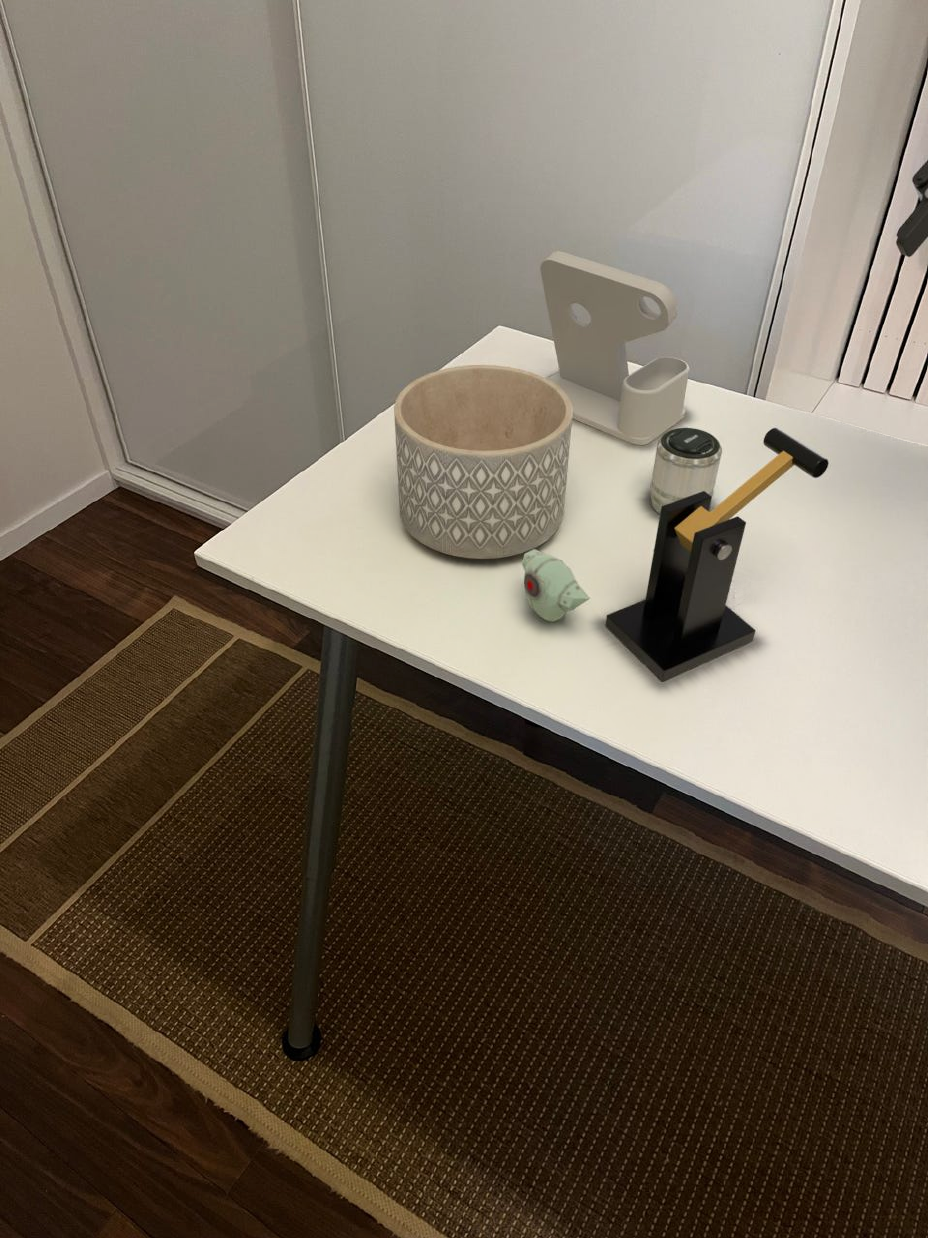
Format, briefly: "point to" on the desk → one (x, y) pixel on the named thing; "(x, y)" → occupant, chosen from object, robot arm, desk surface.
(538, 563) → the mint green rounded piece
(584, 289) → the phone holder
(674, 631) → the pivoting lever stand
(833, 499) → the desk surface
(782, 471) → the lever
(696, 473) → the camera lens
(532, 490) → the planter
